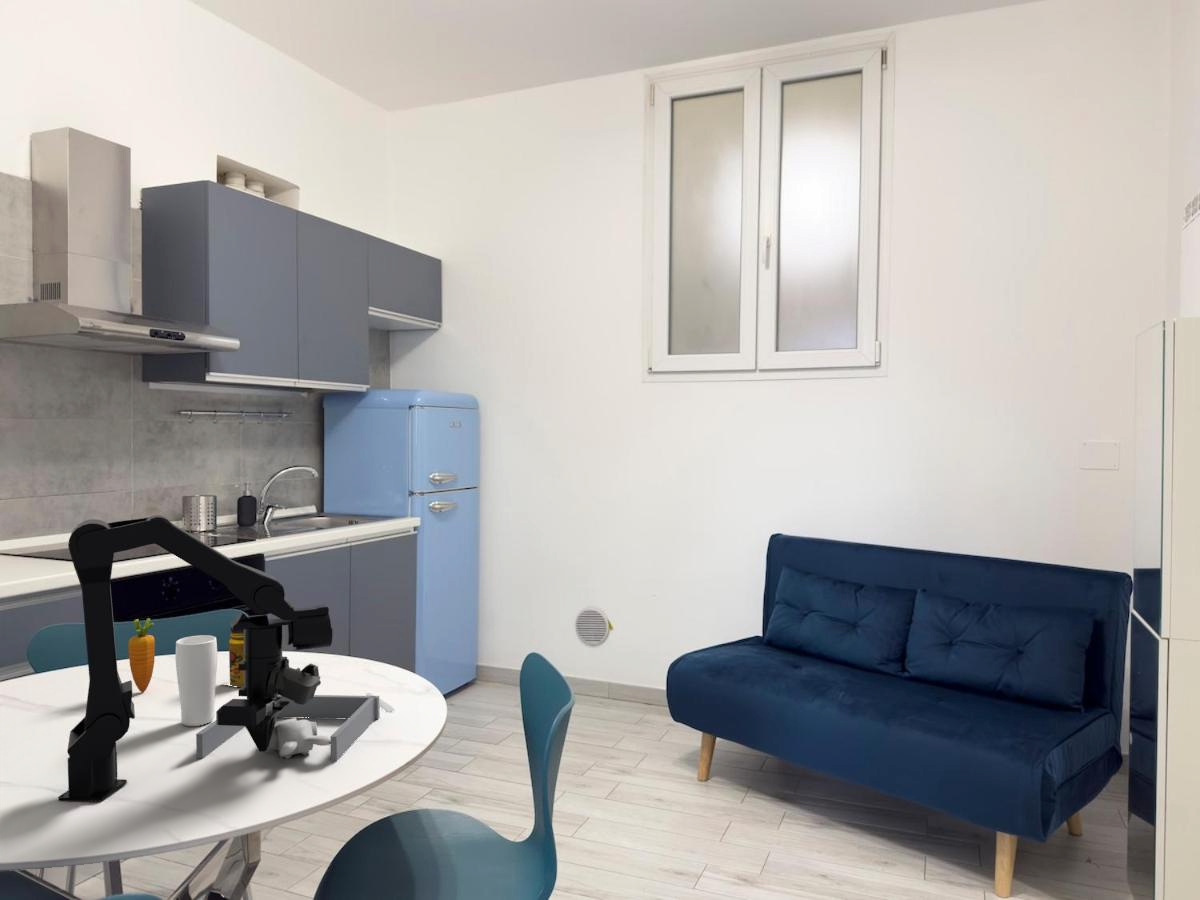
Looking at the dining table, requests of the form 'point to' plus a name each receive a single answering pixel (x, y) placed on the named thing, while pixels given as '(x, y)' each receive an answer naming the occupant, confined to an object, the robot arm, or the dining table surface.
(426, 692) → the dining table surface
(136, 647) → the carrot
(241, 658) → the condiment
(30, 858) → the dining table surface
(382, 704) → the butter knife
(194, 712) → the drinking glass
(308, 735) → the white rounded figure
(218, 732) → the grey u-shaped fence
